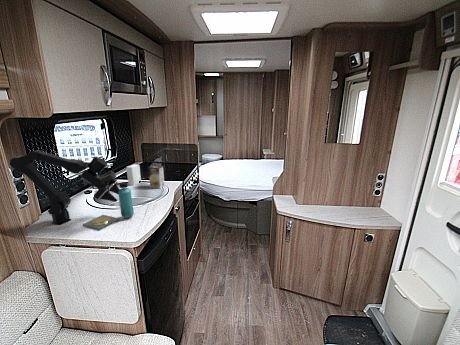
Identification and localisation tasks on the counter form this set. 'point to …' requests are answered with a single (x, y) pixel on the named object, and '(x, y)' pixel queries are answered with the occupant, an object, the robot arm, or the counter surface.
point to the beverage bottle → (125, 200)
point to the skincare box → (133, 174)
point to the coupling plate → (101, 222)
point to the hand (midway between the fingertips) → (119, 197)
